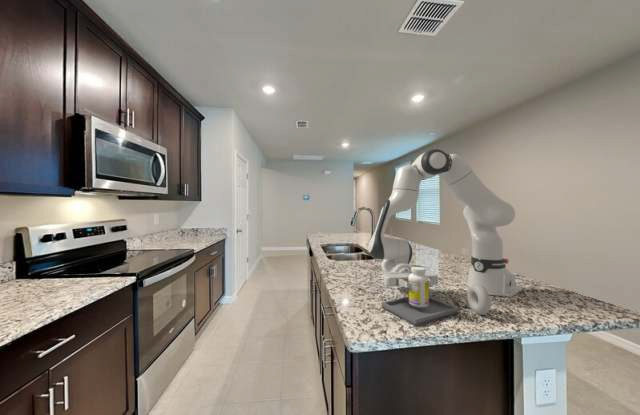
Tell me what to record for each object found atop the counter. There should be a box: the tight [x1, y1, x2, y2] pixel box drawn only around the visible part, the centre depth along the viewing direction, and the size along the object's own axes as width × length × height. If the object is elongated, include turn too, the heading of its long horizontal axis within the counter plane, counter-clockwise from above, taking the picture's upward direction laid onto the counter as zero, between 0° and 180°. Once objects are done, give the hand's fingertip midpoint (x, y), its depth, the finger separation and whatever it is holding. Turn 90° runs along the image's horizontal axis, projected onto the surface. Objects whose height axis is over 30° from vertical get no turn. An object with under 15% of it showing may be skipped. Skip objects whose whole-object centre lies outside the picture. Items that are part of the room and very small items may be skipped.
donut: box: [466, 284, 492, 316], centre depth 86 cm, size 10×4×10 cm, turn 179°
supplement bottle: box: [408, 266, 430, 307], centre depth 89 cm, size 7×7×13 cm
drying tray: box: [381, 295, 460, 327], centre depth 89 cm, size 20×16×2 cm
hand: (419, 285), depth 88 cm, fingers closed on supplement bottle, 7 cm apart
